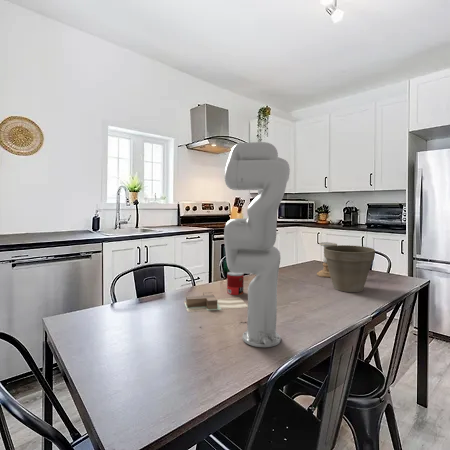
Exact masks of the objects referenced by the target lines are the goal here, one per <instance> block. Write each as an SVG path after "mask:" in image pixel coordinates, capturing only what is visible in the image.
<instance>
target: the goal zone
mask: <svg viewBox="0 0 450 450" xmlns="http://www.w3.org/2000/svg"><path fill="white" fill-rule="evenodd" d="M184 305H185V306H184V307H186V310H187V309H190V308H204V307H206V306H202V307H188V308H187V305H186V304H185V303H184ZM206 309H207V307H206ZM219 310H223V309H221V308H220V306H219V305H218V303H217V309H207V311H219ZM207 311H206V312H207Z"/></svg>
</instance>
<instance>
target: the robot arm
mask: <svg viewBox="0 0 450 450" xmlns="http://www.w3.org/2000/svg"><path fill="white" fill-rule="evenodd" d="M225 165H226V166H225V169H224V182H225V185H226V187H228V189H229V190H232V191H257V196H255V197H254V198H253V200H251V202H250V203H249V205H248V206H247V209H246V213H247V218H231V219H229V220H227V222H226V223H225V226H224V229H223V231H224V232H223V240H224V241H223V243H224V250H225V251H224V252H225V261H226V266H227V268H228V270H229V272H233V273H243V274H248V275H250V274H252V275H255V277H253V278H252V280H251V281H250V282H249V284H248V286H247V305H248V308H247V319H246V320H247V325H246V327H247V328H246V329H247V330H245V331H244V332H243V333H242V341H243V342H244V343H245V344H247V345H250V346H252V347H254V348H255V347H256V348H273V347H275V346H277V345H279V344H280V343H281V341H282V340H281V339H282V336H281V335H280V334H279V333H278V332H277V313H278V311H277V306H278V303H277V302H278V299H277V298H278V278H279V272H280V264H281V252H280V250H279V249H278V247H275V244H276V241H277V229H278V228H277V225H278V224H277V223H278V222H277V221H278V220H277V219H278V209H279V207H280V204H281V202H282V200H283V197H284V195H285V192H286V189H287V183H288V181H289V179H290V172H291V169H290V164H289V162H288V161H287V160H286V159H284V158H282V157H279V153H278V149H277V147H276V146H275V145H274V144H272V143H270V142H265V141H259V142H258V141H254V142H249V141H248V142H238V143H236V144H234V145H233V147H232V148H231V151H229V155H228V159H227V161H226V164H225Z"/></svg>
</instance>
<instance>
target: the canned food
mask: <svg viewBox="0 0 450 450" xmlns="http://www.w3.org/2000/svg"><path fill="white" fill-rule="evenodd" d="M244 274H245V273H233V272H231V271H227V274H226V278H227V279H226V287H227V288H226V290H227V294H228V295H230V296H231V295H232V296H241V295H243V294H244V279H245V278H244V277H245V276H244Z"/></svg>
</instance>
